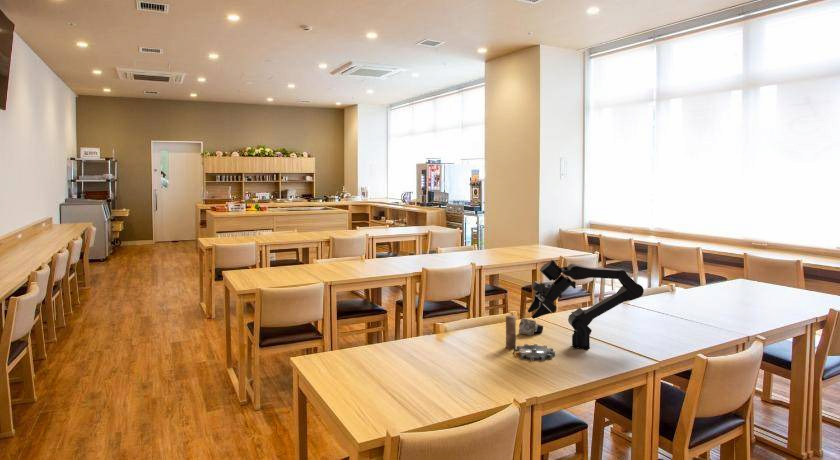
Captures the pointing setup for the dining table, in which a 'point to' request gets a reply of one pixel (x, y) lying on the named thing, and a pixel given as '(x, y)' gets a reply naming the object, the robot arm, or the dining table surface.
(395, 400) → the dining table surface
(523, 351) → the sprocket plate
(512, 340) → the brown cylinder
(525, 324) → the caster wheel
